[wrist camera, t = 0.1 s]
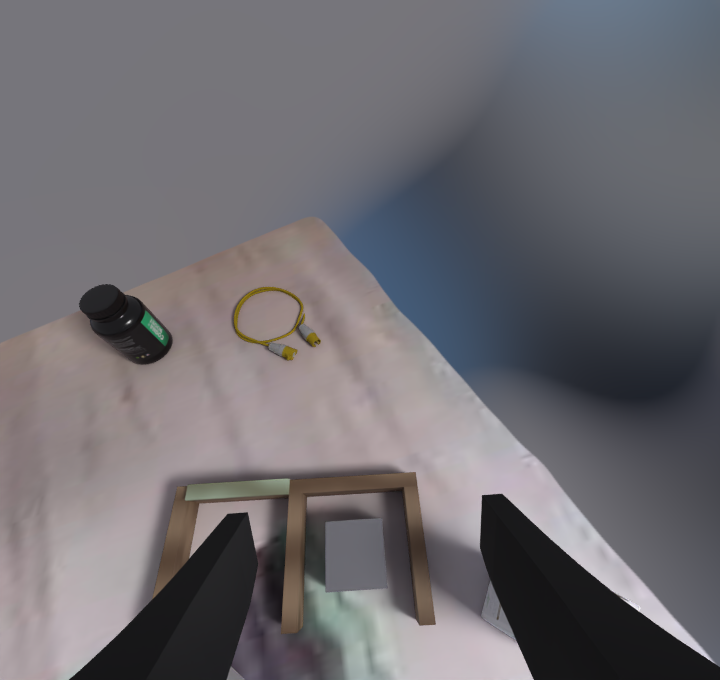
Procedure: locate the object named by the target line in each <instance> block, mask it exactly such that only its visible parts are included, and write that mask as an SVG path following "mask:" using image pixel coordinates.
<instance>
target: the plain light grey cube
mask: <svg viewBox="0 0 720 680" xmlns="http://www.w3.org/2000/svg"><path fill="white" fill-rule="evenodd" d="M227 680H245V679H244V678H243V677H242V676H241V675H240V674H238V673H237V672H236V671H235V670H234V669H233V668H232V667H230V671H229V674H228V677H227Z"/></svg>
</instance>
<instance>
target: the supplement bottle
mask: <svg viewBox="0 0 720 680" xmlns="http://www.w3.org/2000/svg"><path fill="white" fill-rule="evenodd" d="M79 307H80V310H82V312H83V313H84V314H86V315H87V317H88V318H89V319H90V324H91V328H92V330H93V331H94V332H95V333H96V334H97V335H98V336H100V337H101V338H102V339H103V340H105V341H106V342H107V343H109V344H110V345H111V346H112V347H114V348H115V349H116V350H118V351H119V352H120V353H121V354H123V355H124V356H125V357H127V358H128V359H129V360H131V361H132V362H134V363H136V364H150V363H154V362H156V361H158V360H160V359H161V358H163V357H164V356H165V355H166V354H167V353H168V351H169V350H170V348H171V346H172V335H171V333H170V332H169V331H168V329H167V328H166V327H165V326H164V325H163V324H162V323H161V322H160V321H159V320H158V319H157V318H156V317H155V315H154V314H153V313H152V312H151V311H150V310H149V309H148V308H147V307H146V306H145V305H144V304H143V303H142V302H141V301H140V300H139V299H138V298H136V297H133V296H129V295H125V294H124V293H122V292H121V291H120V290H119V289H118V288H117V287H115V286H114V285H110V284H109V285H108V284H105V285H99V286H96V287H94V288H92V289H91V290H89V291H88V292H86V293H85V294H84V295H83V296H82V298H81V300H80V303H79Z"/></svg>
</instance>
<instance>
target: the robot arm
mask: <svg viewBox="0 0 720 680" xmlns="http://www.w3.org/2000/svg"><path fill="white" fill-rule="evenodd" d="M480 549H481V552H482V556H483V559H484V562H485V565H486V568H487V571H488V574H489V577H490V580H491V583H492V586H493V588H494V590H495V593H496V595H497V597H498V600H499V602H500V604H501V607H502V609H503V611H504V613H505V616H506V618H507V620H508V623H509V625H510V627H511V629H512V632H513V634H514V636H515V638H516V641H517V643H518V645H519V647H520V650H521V652H522V654H523V656H524V659H525V661H526V663H527V665H528V668H529V670H530V672H531V674H532V677H533V679H534V680H720V667H719V666H717V665H716V664H714V663H713V662H711V661H710V660H708V659H707V658H705V657H704V656H702V655H701V654H699V653H698V652H696V651H695V650H693V649H692V648H690V647H689V646H687V645H686V644H684V643H683V642H681V641H680V640H678V639H677V638H675V637H674V636H672V635H671V634H670V633H668V632H667V631H665V630H664V629H662V628H661V627H659V626H658V625H657V624H655V623H654V622H653V621H651V620H650V619H649V618H647V617H646V616H644V615H643V614H642V613H640V612H639V611H638V610H636V609H635V608H634V607H632V606H631V605H629V604H628V603H627V602H625V601H624V600H623V599H621V598H620V597H619V596H618V595H616V594H615V593H614V592H612V591H611V590H610V589H609V588H607V587H606V586H605V585H604V584H602V583H601V582H600V581H599V580H597V579H596V578H595V577H594V576H593V575H591V574H590V573H589V572H588V571H586V570H585V569H584V568H583V567H582V566H581V565H579V564H578V563H577V562H576V561H575V560H574V559H572V558H571V557H570V556H569V555H568V554H567V553H566V552H564V551H563V550H562V549H561V548H560V547H559V546H558V545H557V544H555V543H554V542H553V541H552V540H551V539H550V538H549V537H548V536H547V535H545V534H544V533H543V532H542V531H541V530H540V529H539V528H538V527H537V526H536V525H535V524H534V523H533V522H531V521H530V520H529V519H528V518H527V517H526V516H525V515H524V514H523V513H522V512H521V511H520V510H519V509H518V508H517V507H516V506H515V505H514V504H512V503H511V502H510V501H509V500H508V499H507V498H506V497H505V496H504V495H503V494H493V495H482V511H481V535H480ZM257 567H258V561H257V556H256V551H255V546H254V541H253V536H252V531H251V526H250V521H249V516H248V512H247V513H233V514H227V515H226V517H225V518H224V519H223V520H222V521H221V522H220V523H219V525H218V526H217V527H216V528H215V529H214V530H213V532H212V533H211V534H210V535H209V536H208V537H207V539H206V540H205V541H204V542H203V543H202V545H201V546H200V547H199V548H198V549H197V550H196V552H195V553H194V554H193V555H192V556H191V557H190V559H189V560H188V561H187V562H186V563H185V564H184V565H183V566H182V568H181V569H180V570H179V571H178V572H177V573H176V574H175V575H174V577H173V578H172V579H171V580H170V581H169V582H168V583H167V584H166V585H165V587H164V588H163V589H162V590H161V591H160V592H159V593H158V594H157V595H156V596H155V597H154V598H153V599H152V600H151V601H150V602H149V604H148V605H147V606H146V607H145V608H144V609H143V610H142V611H141V612H140V613H139V614H138V615H137V616H136V617H135V618H134V619H133V620H132V621H131V622H130V623H129V624H128V625H127V626H126V627H125V628H124V629H123V630H122V631H121V632H120V633H119V634H118V635H117V636H116V637H115V638H114V639H113V640H112V641H111V642H110V643H109V644H108V645H107V646H106V647H105V648H104V649H102V650H101V651H100V652H99V653H98V654H97V655H96V656H95V657H94V658H93V659H92V660H91V661H90V662H89V663H87V664H86V665H85V666H84V667H83V668H82V669H81V670H80V671H79V672H77V673H76V674H75V675H74V676H73V677H72V678H71V679H69V680H227V677H228V674H229V671H230V667H231V664H232V661H233V658H234V655H235V651H236V648H237V645H238V642H239V639H240V635H241V632H242V629H243V626H244V622H245V619H246V616H247V612H248V609H249V606H250V602H251V597H252V593H253V588H254V583H255V578H256V573H257Z"/></svg>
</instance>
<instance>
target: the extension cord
mask: <svg viewBox="0 0 720 680" xmlns="http://www.w3.org/2000/svg"><path fill="white" fill-rule="evenodd" d="M262 289H265V290H262ZM258 290H260V291H258ZM256 291H257V292H256ZM265 291H280V292H283V293H286V294H288V295H289V296H291V297H292V298H294V299H295V300H297V301H298V302H299V303H300V306H301V311H300V314H299V317H298V320H297V323H296V325H295V327H294V328H293V330H292V331H291V332H289V333H287V334H285V335H283V336H281V337H278V338H275V339H271V340H266V341H258V340H255V339H252V338H250V337H247V336H245V335H244V334H242V333H241V332H240V331H239V330H238V328H237V321H238V314H239V311H240V308H241V306H242V304H243V303H244V302H245V301H246V300H247V299H248V298H249V297H251V296H252V295H254V294H257V293H261V292H265ZM302 312H303V304H302V302H301V301H300V299H299V298H298V297H296V296H295V295H294V294H292V293H291V292H289V291H286V290H284V289H280V288H276V287H262V288H258V289H255V290H253V291H251V292H249V293H248V294H247V295H245V296H244V297H243V298H242V300H241V301H240V302H239V304H238V305H237V308H236V310H235V314H234V326H235V330H236V333H237V335H238V336H239V337H240V338H241V339H243V340H244V341H247V342H251V343H260V344H262V345H265V346H268V347H269V350H271V351H272V352H274V353H276V354H277V355H279V356H282V357H284V358H286V359H287V360H293V358H294V356H295V355H296V353H297V350H296V349H293V348H291V347H288V346H285V345H283V344H276V343H270V345H269V344H266V343H267V342H272V341H276V340H278V339H281V338H284V337H286V336H288V335H290V334H291V333H293V332H294V331H295V329H296V328H297V326H298V323H299V321H300V318H301V315H302ZM304 319H305V313H304V315H303V319H302V322H301V325H300V326H299V330H300V332H301V334H302V335H303V337H304V339H305V340H306V341H307V342H309V343H310V344H311V345H312V346H313V347H316V345H315V344H314V342H316V343H317V344H318V345H319V344H320V342H321V340H320V339H319V338H318V337H317V336H316V334H315V332H314V331H313V330H312V329H310V328H309V327H307V326H306V325H305V324H303V322H304ZM242 336H243V337H245V338H246V339H245V338H243V337H242ZM248 339H249V340H248Z"/></svg>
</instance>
